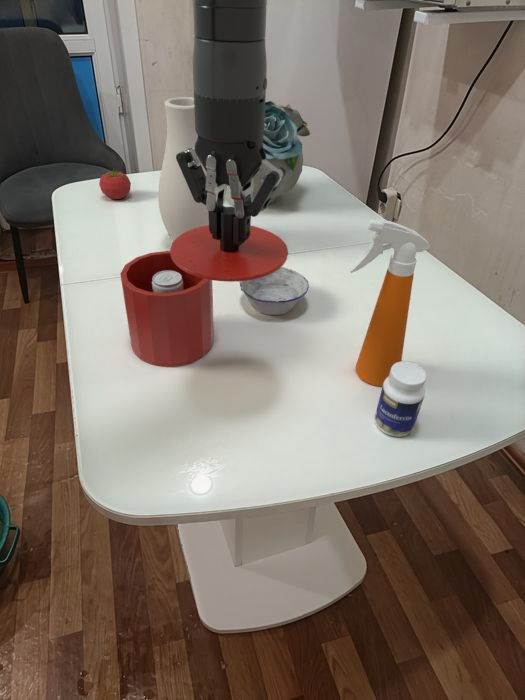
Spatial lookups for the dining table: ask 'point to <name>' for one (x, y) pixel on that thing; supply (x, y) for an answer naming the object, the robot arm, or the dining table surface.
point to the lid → (228, 252)
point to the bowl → (275, 291)
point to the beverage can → (167, 282)
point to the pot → (167, 313)
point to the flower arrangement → (282, 145)
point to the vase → (179, 171)
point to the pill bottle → (401, 399)
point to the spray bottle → (389, 299)
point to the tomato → (115, 184)
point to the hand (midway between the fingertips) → (229, 239)
